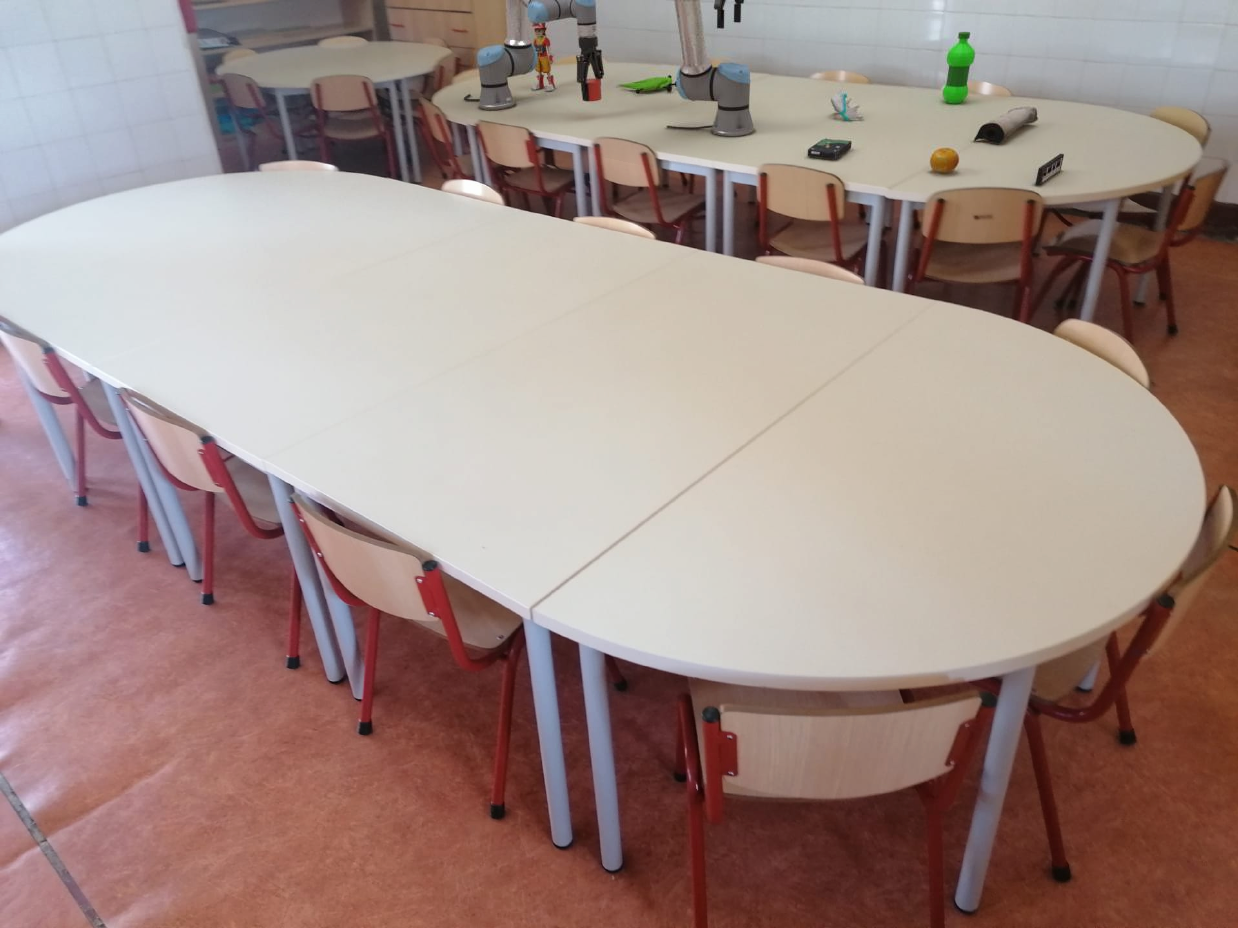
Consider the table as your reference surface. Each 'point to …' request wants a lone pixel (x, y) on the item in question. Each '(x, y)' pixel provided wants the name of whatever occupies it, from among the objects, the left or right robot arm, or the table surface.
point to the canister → (594, 89)
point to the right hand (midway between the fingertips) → (729, 25)
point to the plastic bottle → (958, 69)
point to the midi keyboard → (1049, 169)
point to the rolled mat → (1006, 124)
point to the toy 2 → (651, 84)
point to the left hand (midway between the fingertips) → (592, 98)
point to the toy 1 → (543, 56)
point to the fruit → (944, 160)
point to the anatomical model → (845, 107)
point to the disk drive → (829, 149)
